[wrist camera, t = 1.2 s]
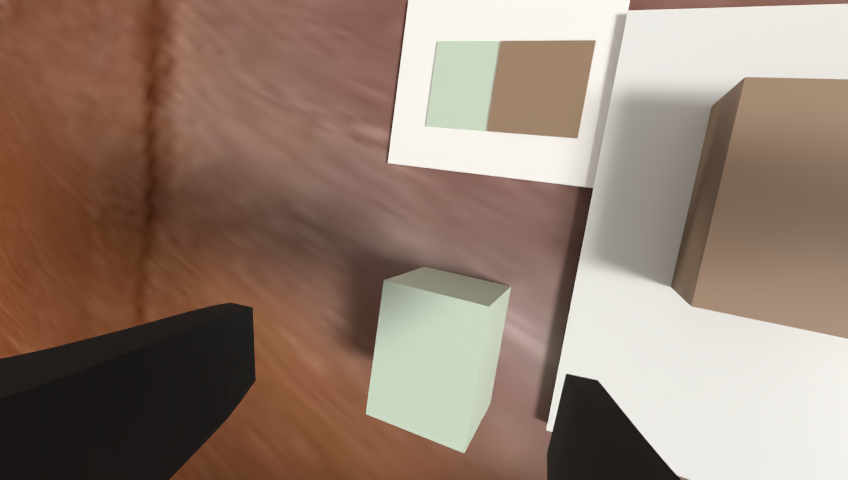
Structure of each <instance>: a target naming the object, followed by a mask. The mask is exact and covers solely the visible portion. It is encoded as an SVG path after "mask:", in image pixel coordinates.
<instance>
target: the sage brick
mask: <svg viewBox="0 0 848 480" xmlns="http://www.w3.org/2000/svg"><path fill="white" fill-rule="evenodd" d="M510 290H511V286H508V285H503V284H499V283H494V282H490V281H486V280H481V279H477V278H472V277H468V276H463V275H459V274H455V273H450V272H446V271H441V270H437V269H432V268H428V267H422V268H419V269H416V270H413V271H410V272H407V273H404V274H401V275H398V276H395V277H392V278H389V279H386V280H384V283H383V290H382V297H381V305H380V312H379V320H378V327H377V335H376V342H375V350H374V357H373V365H372V372H371V380H370V387H369V395H368V402H367V409H366V414H367V415H370V416H372V417H375V418H377V419H380V420H382V421H385V422H387V423H390V424H392V425H395V426H397V427H400V428H402V429H405V430H407V431H410V432H412V433H415V434H417V435H420V436H422V437H425V438H427V439H430V440H432V441H435V442H437V443H440V444H442V445H445V446H447V447H450V448H452V449H455V450H457V451H460V452H462V453H465V451H466V449H467V447H468V445H469V443H470V441H471V439H472V438H473V436H474V434H475V432H476V430H477V428H478V426H479V424H480V422H481V420H482V419H483V417H484V415H485V413H486V411H487V409H488V407H489V405H490V402H491V397H492V391H493V385H494V380H495V374H496V369H497V363H498V357H499V352H500V346H501V340H502V335H503V329H504V323H505V318H506V312H507V307H508V301H509V295H510Z"/></svg>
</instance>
